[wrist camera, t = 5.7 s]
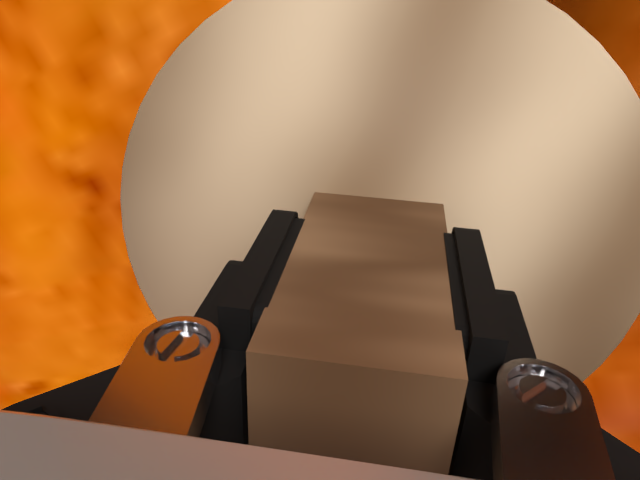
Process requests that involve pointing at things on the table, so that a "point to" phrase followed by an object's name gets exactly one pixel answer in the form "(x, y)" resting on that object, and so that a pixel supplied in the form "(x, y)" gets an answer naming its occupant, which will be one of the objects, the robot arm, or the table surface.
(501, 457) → the robot arm
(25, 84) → the table surface
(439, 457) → the lid
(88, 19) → the table surface
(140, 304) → the table surface
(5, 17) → the table surface
